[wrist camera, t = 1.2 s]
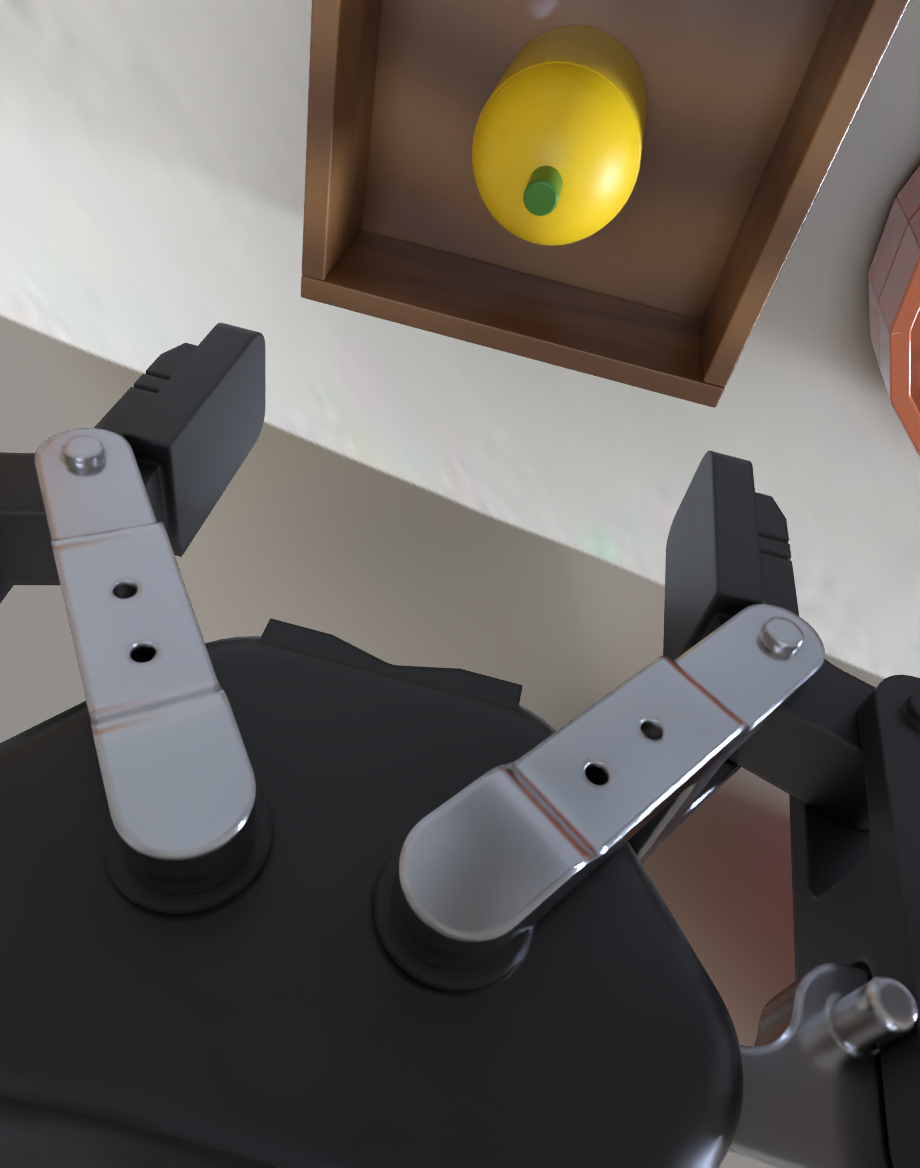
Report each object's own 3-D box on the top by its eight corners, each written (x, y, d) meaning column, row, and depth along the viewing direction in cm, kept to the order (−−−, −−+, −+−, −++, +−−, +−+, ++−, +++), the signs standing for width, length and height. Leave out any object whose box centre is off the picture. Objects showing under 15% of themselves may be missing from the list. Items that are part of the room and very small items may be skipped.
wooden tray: (379, -211, 23) (319, -208, 19) (894, -78, 22) (934, -50, 19) (345, 236, 32) (300, 297, 28) (712, 334, 31) (715, 408, 28)
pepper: (515, 6, 25) (466, 70, 19) (669, 46, 25) (663, 122, 19) (484, 171, 28) (435, 264, 23) (619, 206, 28) (602, 308, 23)
